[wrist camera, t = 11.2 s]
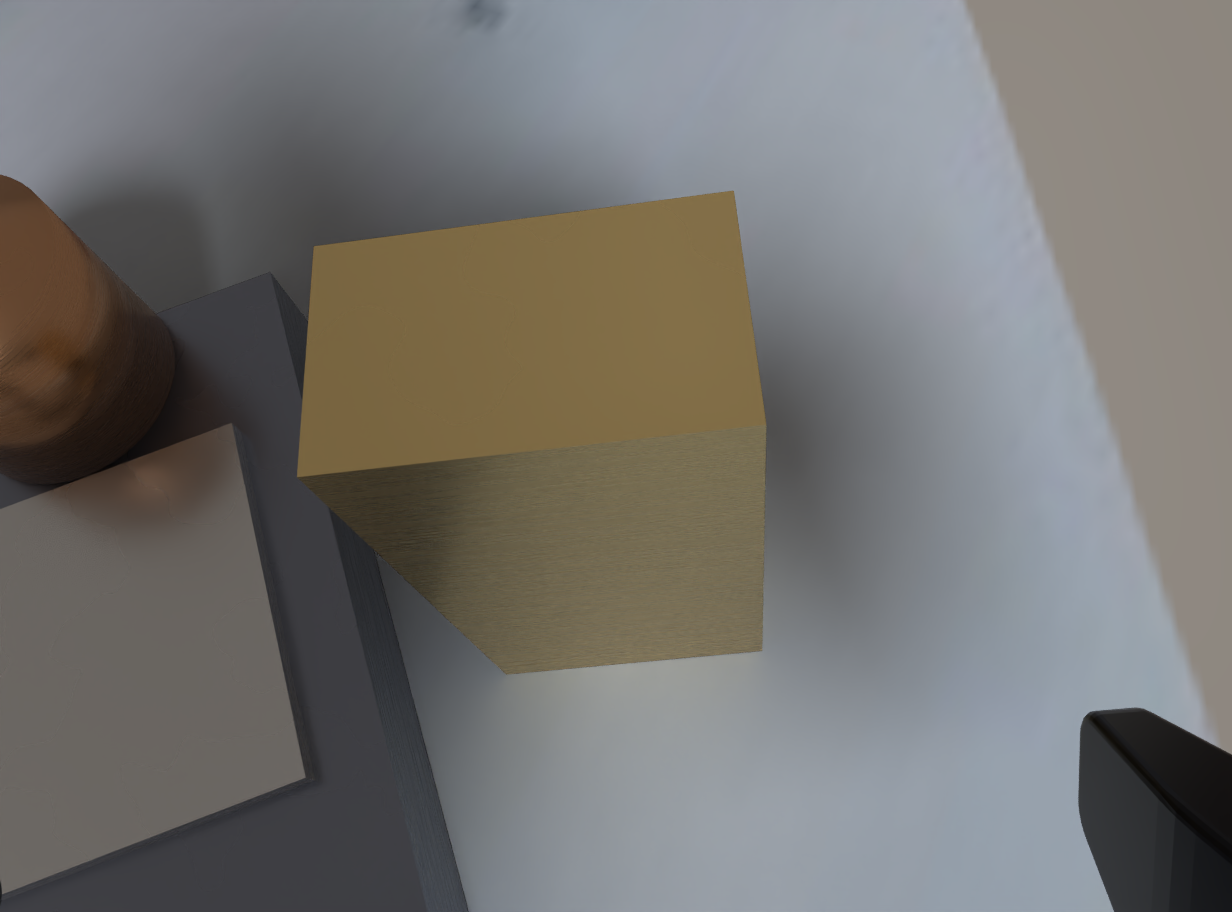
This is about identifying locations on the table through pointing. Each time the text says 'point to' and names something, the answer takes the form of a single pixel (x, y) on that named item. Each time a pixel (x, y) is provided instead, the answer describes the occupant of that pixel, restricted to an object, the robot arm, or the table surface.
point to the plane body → (187, 616)
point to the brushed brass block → (550, 428)
